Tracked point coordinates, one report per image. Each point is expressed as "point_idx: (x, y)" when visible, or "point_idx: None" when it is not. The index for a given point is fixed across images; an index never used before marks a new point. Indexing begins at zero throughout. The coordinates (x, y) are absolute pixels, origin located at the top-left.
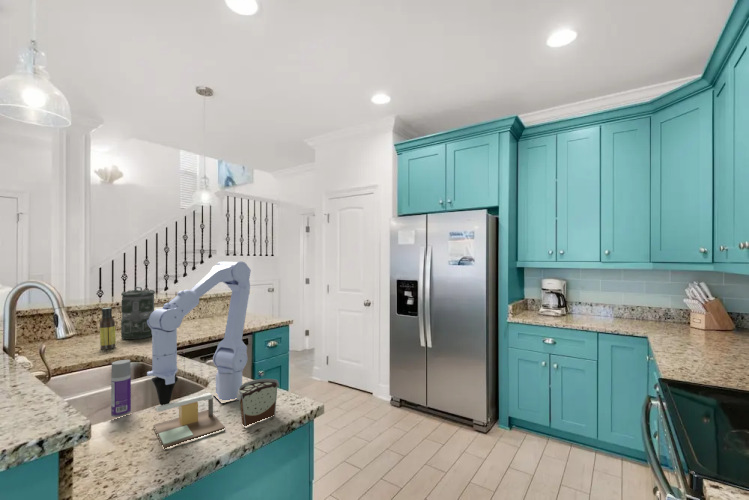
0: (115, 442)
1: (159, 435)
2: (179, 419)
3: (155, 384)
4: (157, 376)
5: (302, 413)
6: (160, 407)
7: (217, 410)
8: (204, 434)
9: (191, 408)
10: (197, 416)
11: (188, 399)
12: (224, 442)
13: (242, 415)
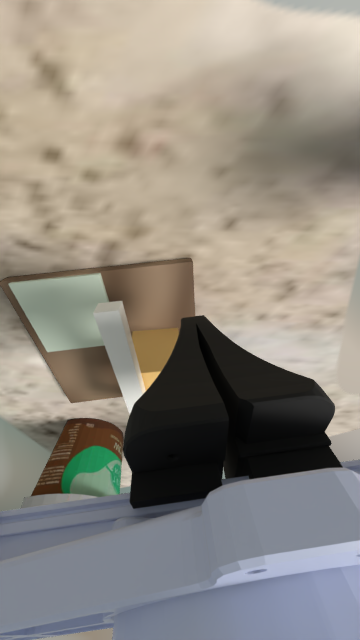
0: (152, 109)
1: (88, 274)
2: (168, 331)
3: (133, 410)
4: (87, 549)
5: None
6: (98, 324)
7: None
8: (52, 368)
9: None
10: None
11: None
12: (13, 389)
13: (61, 446)
